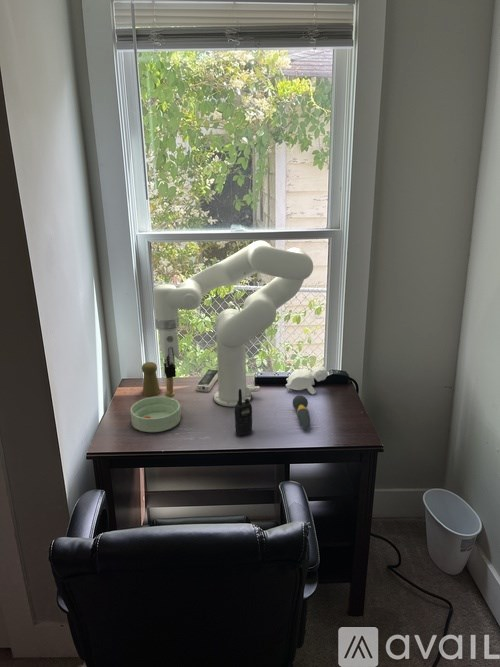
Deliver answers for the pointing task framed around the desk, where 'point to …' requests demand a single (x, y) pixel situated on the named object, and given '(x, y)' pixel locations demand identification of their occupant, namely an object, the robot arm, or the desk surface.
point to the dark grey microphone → (302, 411)
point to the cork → (150, 379)
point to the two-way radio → (243, 416)
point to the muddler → (169, 387)
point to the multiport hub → (207, 381)
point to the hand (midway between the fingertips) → (170, 374)
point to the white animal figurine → (305, 378)
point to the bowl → (155, 414)
